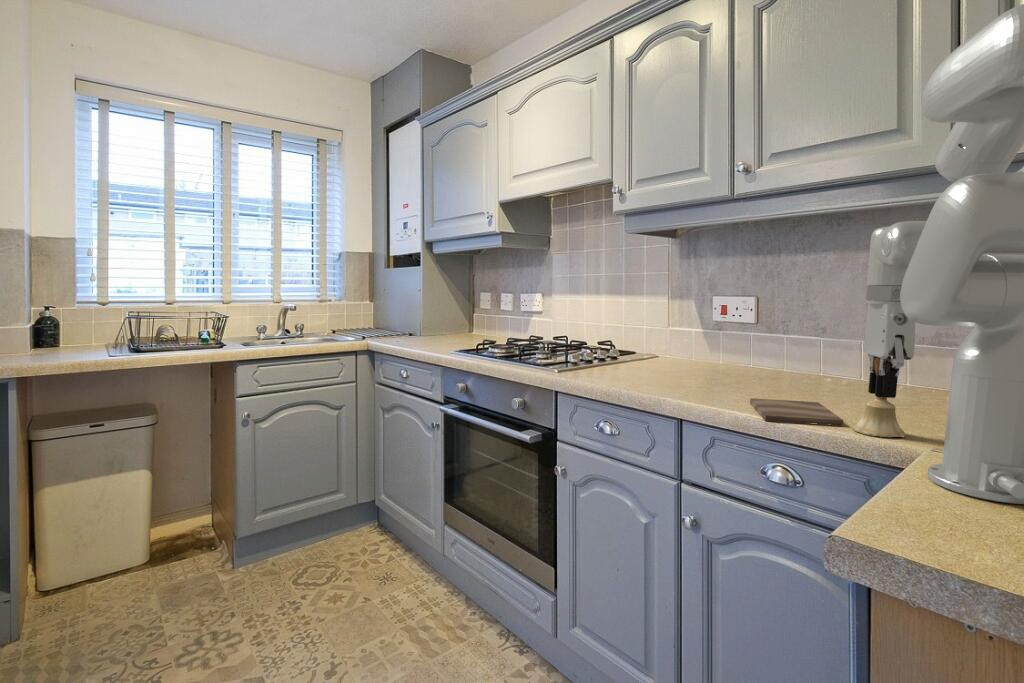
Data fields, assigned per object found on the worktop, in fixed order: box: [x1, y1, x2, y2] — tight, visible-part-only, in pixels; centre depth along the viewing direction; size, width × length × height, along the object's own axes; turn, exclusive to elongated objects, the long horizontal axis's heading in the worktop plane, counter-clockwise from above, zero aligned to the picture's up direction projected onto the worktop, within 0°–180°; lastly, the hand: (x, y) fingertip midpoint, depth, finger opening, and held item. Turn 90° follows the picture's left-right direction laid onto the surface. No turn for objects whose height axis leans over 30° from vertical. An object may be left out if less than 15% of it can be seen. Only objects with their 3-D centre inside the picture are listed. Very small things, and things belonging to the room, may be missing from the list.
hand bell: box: [851, 356, 906, 438], centre depth 101 cm, size 8×8×16 cm
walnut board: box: [749, 397, 844, 426], centre depth 116 cm, size 16×14×1 cm
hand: (881, 394), depth 101 cm, fingers closed on hand bell
